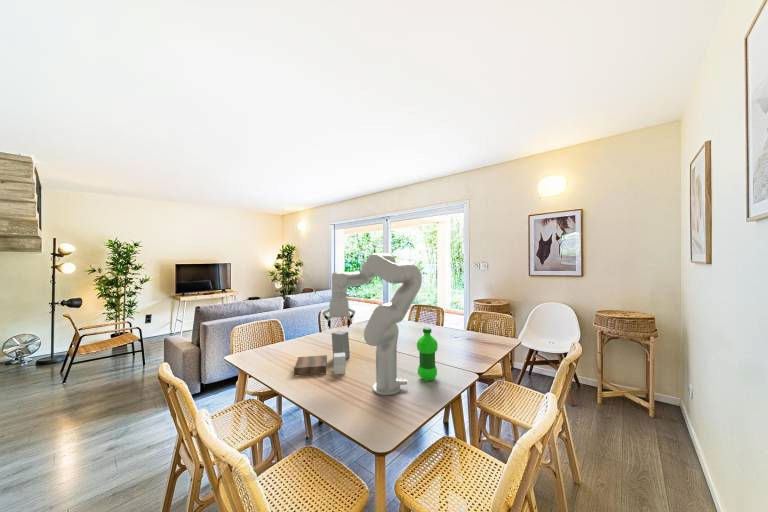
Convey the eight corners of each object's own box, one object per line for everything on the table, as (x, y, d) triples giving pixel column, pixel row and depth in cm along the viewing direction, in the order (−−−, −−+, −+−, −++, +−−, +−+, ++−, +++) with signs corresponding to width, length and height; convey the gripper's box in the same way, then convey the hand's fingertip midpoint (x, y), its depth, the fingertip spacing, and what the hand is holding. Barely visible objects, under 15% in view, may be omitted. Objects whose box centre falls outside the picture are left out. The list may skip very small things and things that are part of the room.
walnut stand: (327, 362, 163) (326, 355, 163) (326, 373, 147) (326, 365, 147) (298, 364, 160) (298, 357, 160) (294, 375, 144) (294, 368, 144)
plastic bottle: (424, 385, 133) (424, 332, 133) (413, 376, 142) (412, 327, 142) (442, 381, 137) (441, 329, 137) (429, 372, 146) (429, 325, 147)
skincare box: (350, 357, 170) (349, 331, 170) (342, 361, 164) (342, 334, 164) (339, 355, 174) (339, 329, 174) (331, 358, 168) (331, 332, 168)
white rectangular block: (345, 369, 152) (344, 352, 152) (345, 373, 147) (345, 356, 147) (333, 369, 151) (333, 353, 151) (333, 374, 146) (333, 357, 146)
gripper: (354, 294, 154) (354, 325, 154) (322, 294, 151) (322, 326, 151) (355, 295, 147) (355, 328, 147) (322, 296, 144) (322, 330, 144)
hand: (339, 327), depth 149 cm, fingers open, 9 cm apart
